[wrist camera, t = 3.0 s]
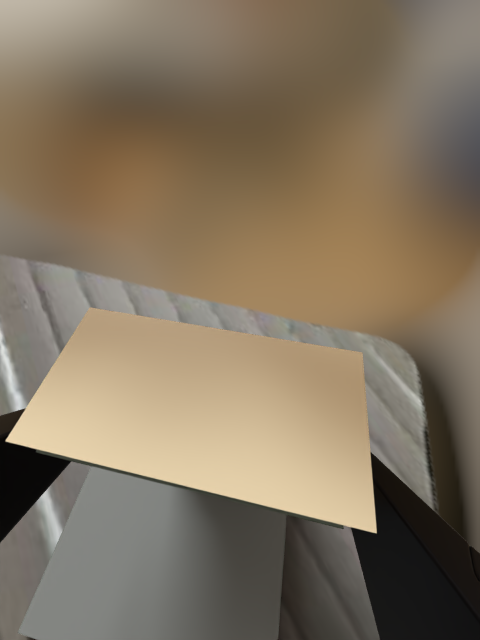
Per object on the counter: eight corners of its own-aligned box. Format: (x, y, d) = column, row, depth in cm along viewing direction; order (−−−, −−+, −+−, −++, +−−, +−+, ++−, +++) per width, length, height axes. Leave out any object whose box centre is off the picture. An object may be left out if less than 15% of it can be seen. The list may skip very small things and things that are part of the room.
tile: (277, 479, 14) (377, 542, 3) (174, 454, 14) (1, 447, 4) (282, 423, 15) (362, 352, 5) (189, 404, 16) (89, 307, 6)
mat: (270, 713, 10) (272, 722, 10) (24, 627, 11) (17, 632, 11) (297, 350, 18) (298, 348, 18) (155, 326, 20) (154, 324, 19)
